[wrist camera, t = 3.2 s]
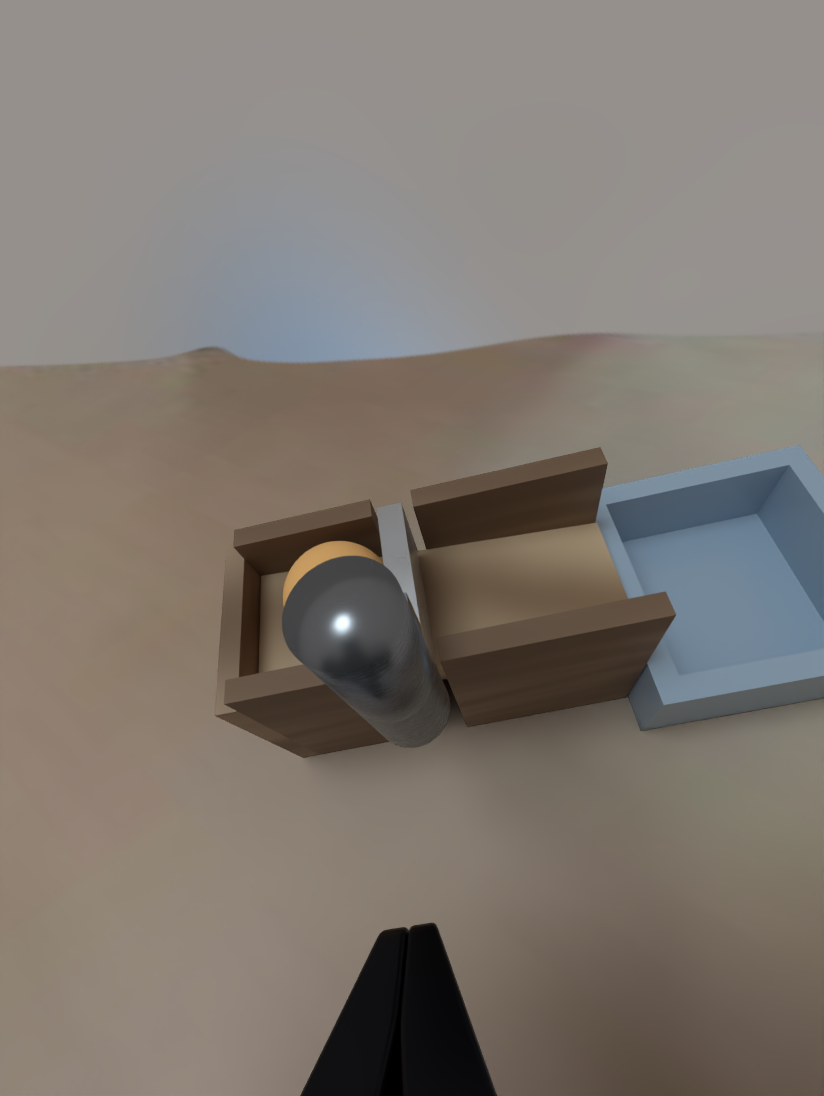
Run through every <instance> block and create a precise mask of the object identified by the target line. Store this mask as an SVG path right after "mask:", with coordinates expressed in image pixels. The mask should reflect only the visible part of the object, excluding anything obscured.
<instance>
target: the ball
mask: <svg viewBox="0 0 824 1096" xmlns="http://www.w3.org/2000/svg"><path fill="white" fill-rule="evenodd" d="M342 556H362V557H367V558H370V559H373V560H376V561H378V562H380V563H381V564H383V561H382V560H381V559H380V558H379V557H378V556H377V555H376V554H375V553H373V552H372V551H371V550H369V549H368V548H366V547H364V546H362V545H359V544H356V543H353V542H348V541H331V542H326V543H322V544H319V545H317V546H315V547H313V548H311V549H309V550H308V551H306V552H305V553H304V554H303V555H302V556H300V557H299V559H298V560H297V561H296V562H295V563H294V564H293V566H292V567H291V569H290V571H289V573H288V575H287V578H286V580H285V584H284V589H283V605H284V606H285V603H286V600H287V598H288V596H289V594H290V592H291V590H292V589H293V587H294V586H295V585H296V583H297V582H298V581H299V580H300V579H301V578H302V577H303V576H304V575H305V574H306V573H307V572H308V571H310V570H311V569H312V568H314V567H315V566H317V565H319V564H321V563H323V562H325V561H327V560H330V559H333V558H337V557H342ZM383 565H384V564H383Z"/></svg>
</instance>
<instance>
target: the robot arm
mask: <svg viewBox="0 0 824 1096" xmlns="http://www.w3.org/2000/svg"><path fill="white" fill-rule="evenodd" d="M300 1096H497V1094H496V1092H495V1089H494V1086H493V1083H492V1080H491V1077H490V1075H489V1072H488V1069H487V1066H486V1063H485V1060H484V1058H483V1055H482V1052H481V1049H480V1046H479V1043H478V1041H477V1038H476V1035H475V1032H474V1029H473V1026H472V1024H471V1021H470V1018H469V1015H468V1012H467V1009H466V1007H465V1004H464V1001H463V998H462V995H461V992H460V990H459V987H458V984H457V981H456V978H455V975H454V973H453V970H452V967H451V964H450V961H449V958H448V956H447V953H446V950H445V947H444V944H443V941H442V938H441V936H440V933H439V930H438V927H437V925H436V924H435V923H427V924H421V925H414V926H412V927H411V928H410V929H409V930H408V929H407V928H405V927H401V928H395V929H389V930H384V931H382V932H381V933H380V934H379V936H378V938H377V940H376V942H375V944H374V946H373V948H372V950H371V952H370V954H369V956H368V958H367V960H366V962H365V964H364V966H363V968H362V970H361V972H360V974H359V977H358V979H357V981H356V983H355V985H354V987H353V989H352V991H351V993H350V995H349V997H348V999H347V1001H346V1003H345V1005H344V1007H343V1009H342V1011H341V1013H340V1015H339V1018H338V1020H337V1022H336V1024H335V1026H334V1028H333V1030H332V1032H331V1034H330V1036H329V1038H328V1040H327V1042H326V1044H325V1046H324V1048H323V1050H322V1052H321V1054H320V1057H319V1059H318V1061H317V1063H316V1065H315V1067H314V1069H313V1071H312V1073H311V1075H310V1077H309V1079H308V1081H307V1083H306V1085H305V1087H304V1089H303V1091H302V1093H301V1095H300Z"/></svg>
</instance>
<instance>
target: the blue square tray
mask: <svg viewBox="0 0 824 1096" xmlns="http://www.w3.org/2000/svg"><path fill="white" fill-rule="evenodd" d="M595 523H597V524H598V526H599V529H600V531H601V533H602V536H603V538H604V541H605V543H606V546H607V548H608V551H609V553H610V556H611V558H612V561H613V563H614V565H615V568H616V570H617V573H618V575H619V578H620V580H621V583H622V585H623V588H624V590H625V593H626V595H627V597H628V599H630V598H635V597H640V596H645V595H650V594H655V593H660V592H665V591H666V593H667V595H668V597H669V600H670V602H671V604H672V606H673V608H674V611H675V613H676V616H675V618H674V620H673V621H672V623H671V625H670V626H669V628H668V629H667V631H666V633H665V634H664V636H663V638H662V639H661V641H660V643H659V644H658V646H657V647H656V649H655V651H654V652H653V654H652V656H651V657H650V659H649V660H648V662H647V664H646V665H645V667H644V669H643V670H642V672H641V674H640V675H639V677H638V678H637V680H636V682H635V683H634V685H633V687H632V688H631V690H630V691H629V693H628V697H629V700H630V702H631V705H632V708H633V711H634V713H635V716H636V719H637V721H638V724H639V727H640V730H641V731H643V730H649V729H655V728H660V727H666V726H671V725H677V724H682V723H688V722H693V721H699V720H705V719H710V718H716V717H721V716H727V715H732V714H738V713H743V712H749V711H755V710H760V709H766V708H771V707H777V706H782V705H788V704H793V703H799V702H805V701H810V700H816V699H821V698H824V477H823V476H822V474H821V473H820V472H819V470H818V469H817V468H816V466H815V465H814V464H813V462H812V461H811V460H810V458H809V457H808V455H807V454H806V453H805V451H804V450H803V449H802V447H801V446H800V445H797V446H793V447H788V448H784V449H779V450H774V451H770V452H765V453H761V454H756V455H752V456H747V457H743V458H738V459H734V460H729V461H724V462H720V463H715V464H711V465H706V466H702V467H697V468H693V469H688V470H683V471H679V472H674V473H670V474H665V475H661V476H656V477H652V478H647V479H643V480H638V481H633V482H629V483H624V484H620V485H615V486H611V487H606V488H602V493H601V498H600V502H599V507H598V512H597V517H596V522H595Z"/></svg>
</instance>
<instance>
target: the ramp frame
mask: <svg viewBox="0 0 824 1096" xmlns="http://www.w3.org/2000/svg"><path fill="white" fill-rule="evenodd" d="M607 464H608V463H607V461H606V459H605V456H604V454H603V452H602V450H601V448H600V447H599V448H595V449H590V450H586V451H582V452H577V453H573V454H568V455H564V456H560V457H555V458H551V459H546V460H542V461H537V462H533V463H529V464H524V465H520V466H515V467H511V468H507V469H502V470H498V471H493V472H489V473H484V474H480V475H476V476H471V477H467V478H462V479H458V480H454V481H449V482H445V483H440V484H436V485H432V486H427V487H423V488H418V489H414V490H410V491H411V497H412V502H413V508H414V511H415V514H416V517H417V520H418V524H419V527H420V530H421V533H422V537H423V540H424V543H425V546H426V549H427V550H421V551H418V555H419V561H420V567H421V573H422V579H423V585H424V591H425V597H426V603H427V609H428V615H429V621H430V626H431V632H432V638H433V644H434V650H435V656H436V662H437V668H438V671H439V674H440V676H441V678H442V679H447V680H448V682H449V684H450V687H451V689H452V692H453V694H454V696H455V699H456V701H457V703H458V706H459V708H460V711H461V713H462V715H463V718H464V720H465V723H466V725H467V727H470V726H475V725H480V724H486V723H491V722H496V721H502V720H507V719H513V718H518V717H523V716H529V715H534V714H539V713H545V712H550V711H556V710H561V709H566V708H572V707H577V706H583V705H588V704H593V703H599V702H604V701H609V700H615V699H620V698H626V696H627V695H628V693H629V691H630V690H631V688H632V687H633V685H634V683H635V682H636V680H637V678H638V677H639V675H640V674H641V672H642V670H643V669H644V667H645V665H646V664H647V662H648V660H649V659H650V657H651V656H652V654H653V652H654V651H655V649H656V647H657V646H658V644H659V643H660V641H661V639H662V638H663V636H664V634H665V633H666V631H667V629H668V628H669V626H670V625H671V623H672V621H673V620H674V618H675V616H676V613H675V611H674V608H673V606H672V604H671V602H670V600H669V597H668V595H667V593H666V591H665V592H660V593H655V594H650V595H645V596H640V597H635V598H630V599H628V597H627V595H626V593H625V590H624V588H623V585H622V583H621V580H620V578H619V575H618V573H617V570H616V568H615V565H614V563H613V561H612V558H611V556H610V553H609V551H608V548H607V546H606V543H605V541H604V538H603V536H602V533H601V531H600V529H599V526H598V524H597V523H595V522H596V517H597V512H598V507H599V502H600V498H601V493H602V488H603V483H604V479H605V474H606V469H607ZM331 541H348V542H353V543H356V544H359V545H362V546H364V547H366V548H368V549H369V550H371V551H372V552H373V553H375V554H376V555H377V556H378V557H379V558H380V559H381V560H382V561H383V556H382V548H381V540H380V532H379V524H378V518H377V515H376V513H375V511H374V508H373V506H372V504H371V501H370V500H365V501H361V502H356V503H352V504H348V505H343V506H339V507H334V508H330V509H326V510H321V511H317V512H312V513H308V514H303V515H299V516H295V517H290V518H286V519H281V520H277V521H273V522H268V523H264V524H259V525H255V526H251V527H246V528H242V529H237V530H234V545H231V546H226V560H225V574H224V589H223V603H222V617H221V632H220V646H219V660H218V675H217V689H216V704H215V716H216V717H219V718H221V719H223V720H225V721H227V722H229V723H231V724H233V725H235V726H237V727H240V728H242V729H244V730H246V731H248V732H250V733H252V734H254V735H256V736H258V737H261V738H263V739H265V740H267V741H269V742H271V743H273V744H275V745H277V746H279V747H282V748H284V749H286V750H288V751H290V752H292V753H294V754H296V755H298V756H300V757H308V756H314V755H319V754H324V753H330V752H335V751H340V750H346V749H351V748H357V747H362V746H367V745H373V744H378V743H383V742H389V741H388V740H387V739H386V738H385V737H384V736H383V735H381V734H380V733H379V732H378V731H377V730H376V729H375V728H374V727H373V726H371V725H370V724H369V723H368V722H367V721H366V720H365V719H364V718H363V717H361V716H360V715H359V714H358V713H357V712H356V711H355V710H354V709H353V708H351V707H350V706H349V705H348V704H347V703H346V702H345V701H344V700H343V699H341V698H340V697H339V696H338V695H337V694H336V693H335V692H334V691H333V690H331V689H330V688H329V687H328V686H327V685H326V684H325V683H324V682H323V681H321V680H320V679H319V678H318V677H317V676H316V675H315V674H314V673H313V672H311V671H310V670H309V669H308V668H307V667H306V666H305V665H304V664H303V663H301V662H300V661H299V660H298V659H297V658H296V657H295V656H294V655H293V654H292V652H291V651H290V650H289V648H288V646H287V644H286V642H285V639H284V636H283V631H282V614H283V609H284V605H283V589H284V584H285V580H286V578H287V575H288V573H289V571H290V569H291V567H292V566H293V564H294V563H295V562H296V561H297V560H298V559H299V557H300V556H302V555H303V554H304V553H305V552H306V551H308V550H309V549H311V548H313V547H315V546H317V545H319V544H322V543H326V542H331Z"/></svg>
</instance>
